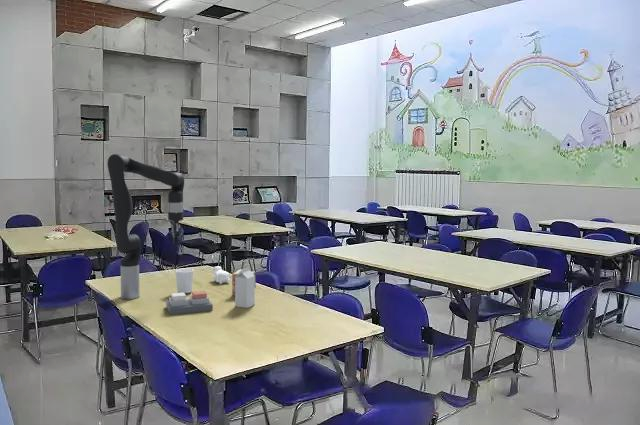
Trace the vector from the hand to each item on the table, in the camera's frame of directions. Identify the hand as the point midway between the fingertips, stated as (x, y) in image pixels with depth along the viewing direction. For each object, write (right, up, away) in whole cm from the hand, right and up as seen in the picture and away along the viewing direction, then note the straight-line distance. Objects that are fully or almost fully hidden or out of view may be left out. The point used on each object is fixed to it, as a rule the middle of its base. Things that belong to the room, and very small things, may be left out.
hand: (175, 244), depth 271 cm
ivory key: (+6, -26, -18) cm, 32 cm away
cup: (+1, -28, +15) cm, 32 cm away
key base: (+11, -31, -15) cm, 36 cm away
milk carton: (+37, -31, -8) cm, 49 cm away
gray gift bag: (+32, -28, +21) cm, 48 cm away
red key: (+15, -26, -14) cm, 33 cm away
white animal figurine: (+15, -26, +43) cm, 52 cm away
